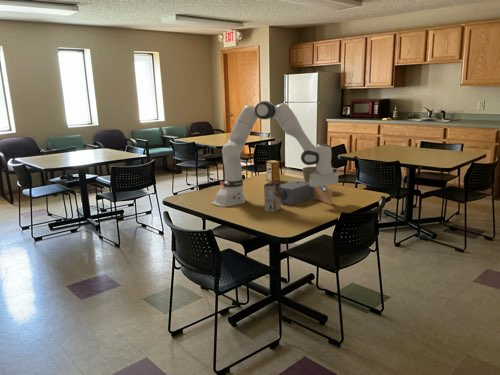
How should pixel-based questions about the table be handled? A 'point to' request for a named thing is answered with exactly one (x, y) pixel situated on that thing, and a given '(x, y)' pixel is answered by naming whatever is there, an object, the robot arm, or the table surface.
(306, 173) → the plant pot
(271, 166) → the baking soda box
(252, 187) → the table surface
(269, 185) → the coffee box
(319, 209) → the table surface
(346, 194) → the table surface
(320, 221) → the table surface
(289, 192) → the camera housing
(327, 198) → the side door
